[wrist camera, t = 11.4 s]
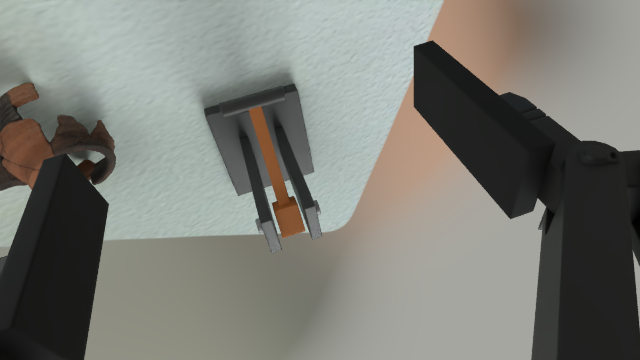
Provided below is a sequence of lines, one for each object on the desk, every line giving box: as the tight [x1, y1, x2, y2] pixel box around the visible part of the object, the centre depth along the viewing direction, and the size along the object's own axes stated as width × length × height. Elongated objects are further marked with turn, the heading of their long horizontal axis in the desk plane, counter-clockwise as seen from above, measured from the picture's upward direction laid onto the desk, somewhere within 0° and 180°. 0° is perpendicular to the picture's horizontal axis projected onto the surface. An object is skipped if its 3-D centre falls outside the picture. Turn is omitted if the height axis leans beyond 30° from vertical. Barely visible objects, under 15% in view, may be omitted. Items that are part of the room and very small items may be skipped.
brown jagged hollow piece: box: [0, 83, 116, 191], centre depth 36 cm, size 12×10×8 cm
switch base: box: [204, 84, 322, 253], centre depth 41 cm, size 12×10×15 cm
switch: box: [219, 86, 305, 238], centre depth 35 cm, size 13×6×2 cm, turn 9°
